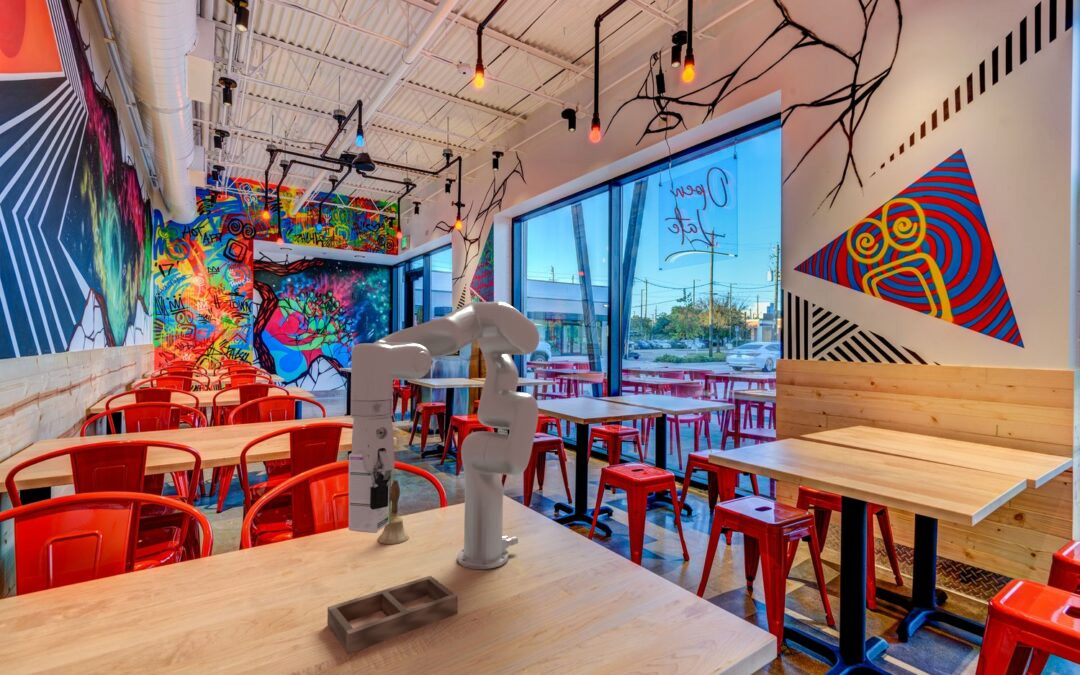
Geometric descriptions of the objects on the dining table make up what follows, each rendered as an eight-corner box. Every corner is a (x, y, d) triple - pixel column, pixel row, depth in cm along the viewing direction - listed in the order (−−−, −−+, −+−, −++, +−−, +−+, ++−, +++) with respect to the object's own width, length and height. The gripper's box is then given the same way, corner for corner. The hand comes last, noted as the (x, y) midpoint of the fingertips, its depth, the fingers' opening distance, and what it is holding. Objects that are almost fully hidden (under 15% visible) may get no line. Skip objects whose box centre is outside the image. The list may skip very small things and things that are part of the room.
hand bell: (410, 532, 146) (411, 475, 146) (408, 543, 138) (408, 483, 138) (379, 533, 145) (380, 476, 145) (375, 545, 137) (376, 484, 137)
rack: (430, 591, 112) (430, 575, 112) (457, 613, 103) (457, 596, 103) (327, 625, 98) (327, 607, 98) (348, 654, 90) (348, 633, 90)
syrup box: (376, 533, 94) (377, 454, 94) (346, 530, 95) (348, 452, 96) (391, 523, 100) (392, 447, 100) (363, 520, 101) (364, 446, 101)
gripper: (410, 412, 93) (409, 510, 93) (373, 402, 107) (371, 488, 107) (370, 415, 89) (368, 518, 89) (336, 405, 102) (334, 494, 102)
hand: (370, 501), depth 98 cm, fingers closed on syrup box, 7 cm apart
